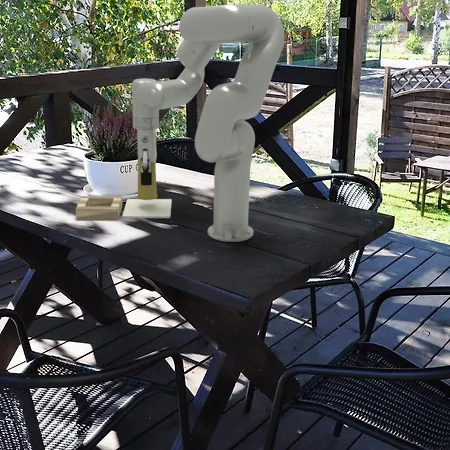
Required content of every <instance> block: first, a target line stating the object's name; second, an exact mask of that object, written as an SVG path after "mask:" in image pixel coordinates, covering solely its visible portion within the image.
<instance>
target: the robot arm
mask: <svg viewBox="0 0 450 450" xmlns="http://www.w3.org/2000/svg"><path fill="white" fill-rule="evenodd" d="M178 29H179V34H180V36H181V38H182V39H183V40H182V42H181V43H180V45H178V47H177V50H176V55H177V56H176V57H177V59H178V60H179V61H180V63H181V64H182V65H183V66H184V68H183V71H182V72H181V73H180V74H179V76H178V77H177V78H176V79H169V80H162V81H157V80H156V79H154V78H145V77H144V78H136V79H134V80H133V81H132V83H131V93H132V94H131V95H132V96H131V97H132V128H133V129H136V132H137V134H136V135H137V158H138V157H139V162H140V163H141V185H152V172H151V162H153V163H155V162H156V161H157V157H158V156H157V155H158V154H157V129H159V128H160V110H166V109H171V108H176V107H177V108H178V107H182V106H184V105H187V104H188V103H189V102H190V101H192V99H193V98H194V97H195V96H196V94H198V91H199V90H200V89H201V88H202V86H203V83H204V79H205V75H206V73H205V68H206V66H207V65H208V63H210V61H211V59H212V58H213V57H214V56H215V54H216V53H217V51H218V50H219V49H220V47H221V46H222V44H238V43H239V44H240V43H249V42H250V44H249V47H248V48H247V50H246V51H245V52H244V53H243V56H242V57H241V59H240V62H239V65H238V68H237V70H236V74H235V77H234V79H233V80H232V81H231V82H226V83H222V84H217V85H216V86H215V87H214V88H213V89H211V90H210V92H209V93H208V95H207V97H206V99H205V102H204V105H203V108H202V110H201V111H202V112H201V115H200V118H199V122H198V125H197V128H196V131H195V132H196V133H195V136H194V148H195V151H196V154H197V155H198V157H199V158H200V159H201V160H202V161H204V162H206V163H215V167H214V176H213V177H214V180H213V184H214V185H213V224H212V225H210V226H209V227H208V229H207V235H208V236H209V237H210V238H212V239H213V240H217V241H221V242H227V243H229V242H230V243H232V242H233V243H235V242H243V241H244V242H245V241H246V240H249V239H251V238H252V237H253V236H254V229H253V228H252V227H251V226H249V205H250V181H251V165H252V158H253V153H254V149H255V142H256V134H255V131H254V129H253V127H252V125H251V124H250V123H249V122H247V121H246V120H249V119H253V118H255V117H256V116H257V115H259V113H260V112H261V109H262V106H263V105H264V101H265V98H266V95H267V92H268V89H269V86H270V83H271V80H272V77H273V73H274V70H275V68H276V65H277V64H278V62H279V58H280V57H281V54H282V51H283V47H284V42H285V32H284V31H285V30H284V26H283V23H282V20H281V18H280V17H279V15H278V14H277V13H276V11H274V10H273V9H272V8H270V7H268V6H266V5H262V4H261V5H260V4H242V3H241V4H237V3H236V4H234V3H233V4H232V3H231V4H220V5H209V6H195V7H194V6H193V7H191V8H189V9H187V10H186V11H185V12H184V13H183V14H182V16H181V18H180V20H179V25H178ZM147 160H149V162H147ZM148 164H149V166H148Z"/></svg>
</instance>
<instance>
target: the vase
mask: <svg viewBox="0 0 450 450" xmlns="http://www.w3.org/2000/svg"><path fill="white" fill-rule="evenodd" d="M147 162H149V160H147ZM156 164H157V163H156V162H155V163H153V162H151V172H152V185H141V163H140V162H139V157H138V156H137V199H141V200H153V199H158V193H157V192H158V191H157V189H158V188H157V187H158V186H157V172H156V171H157V169H156ZM148 166H149V164H148Z"/></svg>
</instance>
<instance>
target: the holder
mask: <svg viewBox="0 0 450 450" xmlns="http://www.w3.org/2000/svg"><path fill="white" fill-rule="evenodd" d="M122 209H123V196H122V195H82V196H81V198H80V200H79V202H78V204H77V206H76V207H75V219H76V221H119V219H120V217H121V216H120V215H121V213H122Z"/></svg>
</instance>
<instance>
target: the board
mask: <svg viewBox="0 0 450 450" xmlns="http://www.w3.org/2000/svg"><path fill="white" fill-rule="evenodd" d="M172 202H173V201H172V199H171V198H166V199H165V198H164V199H163V198H159V199H158V198H156V199H153V200H141V199H139V198H135V199H134V198H127V200H126V203H125V206H124V209H123V212H122V214H121V215H122V217H121V218H122V219H171V212H172Z"/></svg>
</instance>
